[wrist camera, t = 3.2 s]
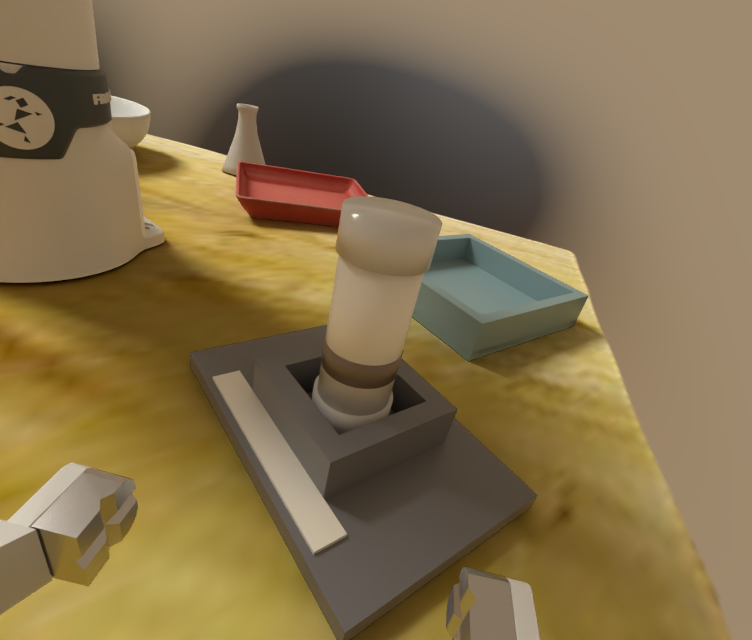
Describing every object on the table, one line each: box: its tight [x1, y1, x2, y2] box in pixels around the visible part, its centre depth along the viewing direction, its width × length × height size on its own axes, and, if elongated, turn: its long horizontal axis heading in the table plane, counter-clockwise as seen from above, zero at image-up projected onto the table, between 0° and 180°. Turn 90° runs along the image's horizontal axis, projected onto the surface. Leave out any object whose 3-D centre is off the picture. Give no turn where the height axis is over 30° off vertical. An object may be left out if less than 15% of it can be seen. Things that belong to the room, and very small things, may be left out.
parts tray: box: [412, 234, 588, 361], centre depth 43 cm, size 16×16×4 cm
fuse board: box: [190, 325, 537, 640], centre depth 24 cm, size 18×12×4 cm, turn 36°
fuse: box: [311, 196, 442, 435], centre depth 22 cm, size 4×4×12 cm
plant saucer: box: [236, 162, 368, 227], centre depth 60 cm, size 18×18×3 cm
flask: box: [222, 104, 265, 176], centre depth 67 cm, size 7×7×10 cm
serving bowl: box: [108, 96, 151, 148], centre depth 61 cm, size 21×21×7 cm
